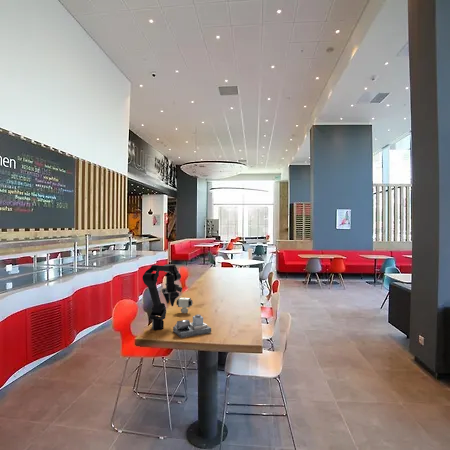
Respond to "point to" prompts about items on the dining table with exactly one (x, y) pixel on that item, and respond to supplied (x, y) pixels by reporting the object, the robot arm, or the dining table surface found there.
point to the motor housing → (190, 329)
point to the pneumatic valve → (184, 304)
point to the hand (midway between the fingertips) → (170, 304)
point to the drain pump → (197, 320)
